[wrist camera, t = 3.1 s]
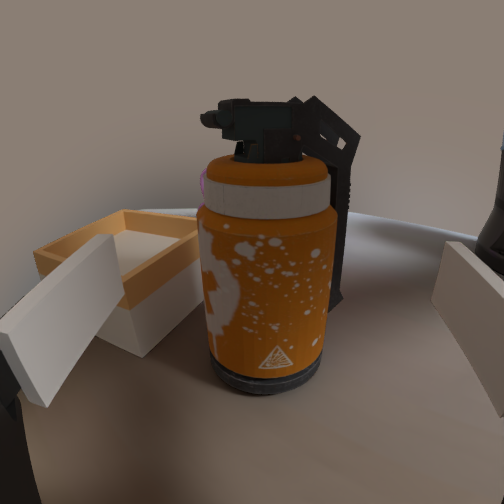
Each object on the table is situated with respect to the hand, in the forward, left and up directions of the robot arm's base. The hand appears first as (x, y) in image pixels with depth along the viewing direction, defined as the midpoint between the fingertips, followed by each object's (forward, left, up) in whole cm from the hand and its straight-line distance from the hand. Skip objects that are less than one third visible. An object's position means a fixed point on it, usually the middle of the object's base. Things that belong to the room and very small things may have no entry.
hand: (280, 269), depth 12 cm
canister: (-9, -3, -13) cm, 17 cm away
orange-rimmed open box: (-11, -21, -13) cm, 27 cm away
